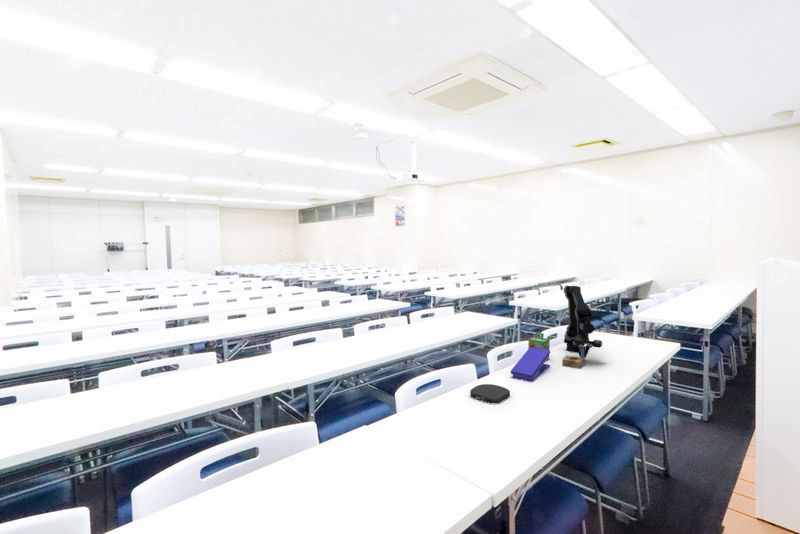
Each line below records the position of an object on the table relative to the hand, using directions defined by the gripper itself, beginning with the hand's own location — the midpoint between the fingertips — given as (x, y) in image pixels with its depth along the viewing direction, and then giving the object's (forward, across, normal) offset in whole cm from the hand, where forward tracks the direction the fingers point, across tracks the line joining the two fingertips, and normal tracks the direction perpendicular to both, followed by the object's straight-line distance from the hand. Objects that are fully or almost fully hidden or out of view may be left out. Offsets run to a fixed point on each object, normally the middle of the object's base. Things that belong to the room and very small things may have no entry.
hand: (582, 356), depth 216 cm
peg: (+2, 0, 0) cm, 2 cm away
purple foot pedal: (+3, -16, -34) cm, 38 cm away
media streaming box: (+3, -20, -75) cm, 77 cm away
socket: (+2, -2, -11) cm, 11 cm away
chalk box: (+2, -21, -10) cm, 23 cm away
